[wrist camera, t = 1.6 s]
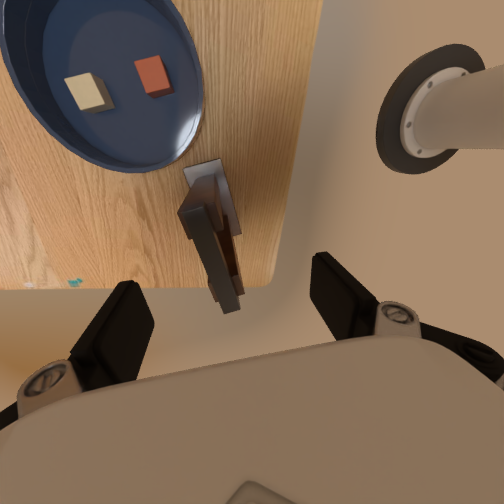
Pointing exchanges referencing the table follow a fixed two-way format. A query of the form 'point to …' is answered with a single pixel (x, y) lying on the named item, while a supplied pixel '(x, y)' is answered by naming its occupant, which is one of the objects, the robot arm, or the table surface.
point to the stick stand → (215, 212)
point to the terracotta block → (154, 76)
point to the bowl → (106, 77)
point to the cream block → (90, 93)
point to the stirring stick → (211, 255)
